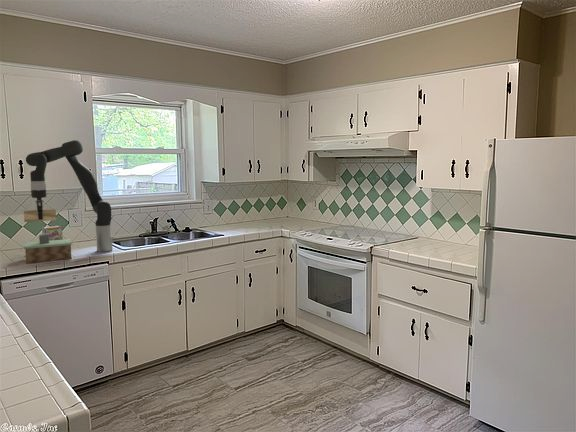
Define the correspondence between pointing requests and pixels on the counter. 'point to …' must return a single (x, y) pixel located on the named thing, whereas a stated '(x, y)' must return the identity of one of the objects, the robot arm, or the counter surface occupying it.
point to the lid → (46, 242)
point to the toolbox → (48, 254)
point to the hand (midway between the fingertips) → (40, 218)
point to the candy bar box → (53, 232)
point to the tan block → (33, 215)
